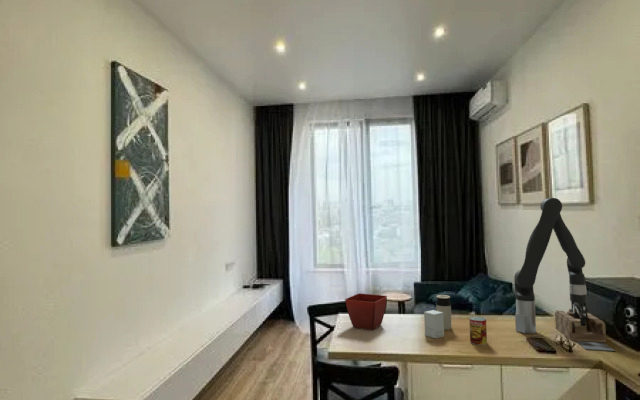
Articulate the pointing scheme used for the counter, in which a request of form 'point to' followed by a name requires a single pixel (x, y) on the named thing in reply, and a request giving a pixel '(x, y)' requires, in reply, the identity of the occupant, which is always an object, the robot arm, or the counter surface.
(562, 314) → the station
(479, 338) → the canned food
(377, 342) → the counter surface
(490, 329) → the counter surface
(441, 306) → the travel mug
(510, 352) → the counter surface
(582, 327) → the block
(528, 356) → the counter surface
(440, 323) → the supplement box
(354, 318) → the plant pot
